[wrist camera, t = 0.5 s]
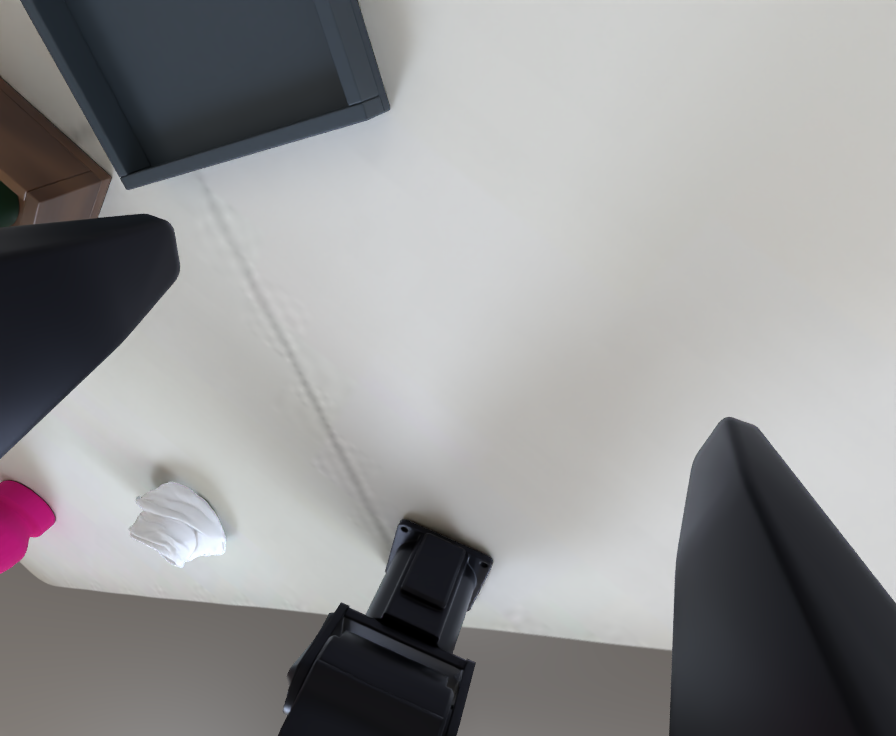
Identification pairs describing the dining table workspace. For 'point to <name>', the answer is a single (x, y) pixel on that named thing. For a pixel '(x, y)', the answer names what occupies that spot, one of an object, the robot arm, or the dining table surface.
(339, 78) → the tray
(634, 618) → the dining table surface
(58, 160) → the crate
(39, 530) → the pepper mill
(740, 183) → the dining table surface
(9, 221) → the bottle
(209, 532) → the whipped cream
